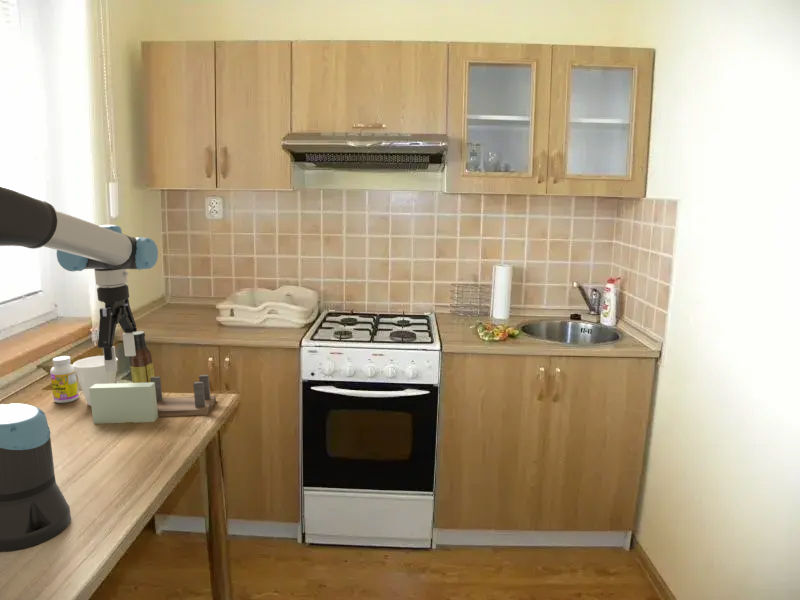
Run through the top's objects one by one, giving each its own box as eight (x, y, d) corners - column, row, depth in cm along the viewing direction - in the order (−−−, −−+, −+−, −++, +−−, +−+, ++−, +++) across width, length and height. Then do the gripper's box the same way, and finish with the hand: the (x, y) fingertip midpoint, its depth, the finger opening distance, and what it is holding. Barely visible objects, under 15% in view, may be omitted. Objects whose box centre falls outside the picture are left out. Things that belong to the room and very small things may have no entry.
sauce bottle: (152, 391, 199) (146, 328, 195) (160, 397, 194) (153, 332, 190) (130, 396, 195) (123, 332, 191) (137, 402, 190) (130, 336, 186)
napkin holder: (206, 414, 179) (204, 385, 178) (140, 417, 179) (136, 387, 177) (215, 400, 190) (213, 372, 188) (153, 402, 189) (150, 374, 188)
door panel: (153, 422, 175) (150, 386, 173) (93, 423, 175) (89, 388, 173) (158, 417, 179) (154, 382, 177) (99, 418, 178) (95, 383, 176)
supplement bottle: (48, 402, 192) (43, 360, 189) (66, 395, 198) (61, 354, 195) (66, 404, 189) (61, 362, 187) (84, 397, 196) (79, 355, 193)
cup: (112, 392, 199) (107, 353, 197) (129, 401, 191) (124, 360, 189) (71, 402, 191) (66, 362, 189) (87, 412, 183) (82, 370, 180)
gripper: (108, 294, 158) (118, 377, 162) (143, 276, 182) (150, 349, 186) (76, 295, 157) (87, 379, 162) (115, 277, 182) (124, 350, 186)
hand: (121, 363), depth 174 cm, fingers open, 13 cm apart
